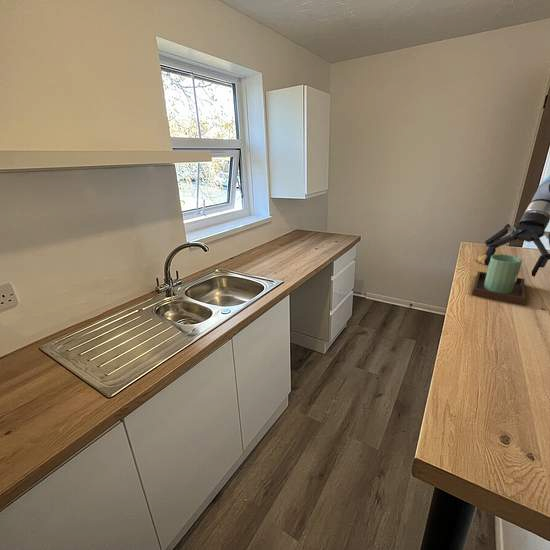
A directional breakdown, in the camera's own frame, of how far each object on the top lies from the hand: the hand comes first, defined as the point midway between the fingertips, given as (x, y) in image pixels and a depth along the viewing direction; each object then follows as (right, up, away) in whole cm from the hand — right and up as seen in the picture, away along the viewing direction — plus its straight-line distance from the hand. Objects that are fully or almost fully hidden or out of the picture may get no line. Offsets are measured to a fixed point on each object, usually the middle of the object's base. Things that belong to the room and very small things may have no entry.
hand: (508, 268), depth 102 cm
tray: (-3, -8, +1) cm, 8 cm away
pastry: (+10, +2, +24) cm, 26 cm away
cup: (-3, -7, +1) cm, 8 cm away
